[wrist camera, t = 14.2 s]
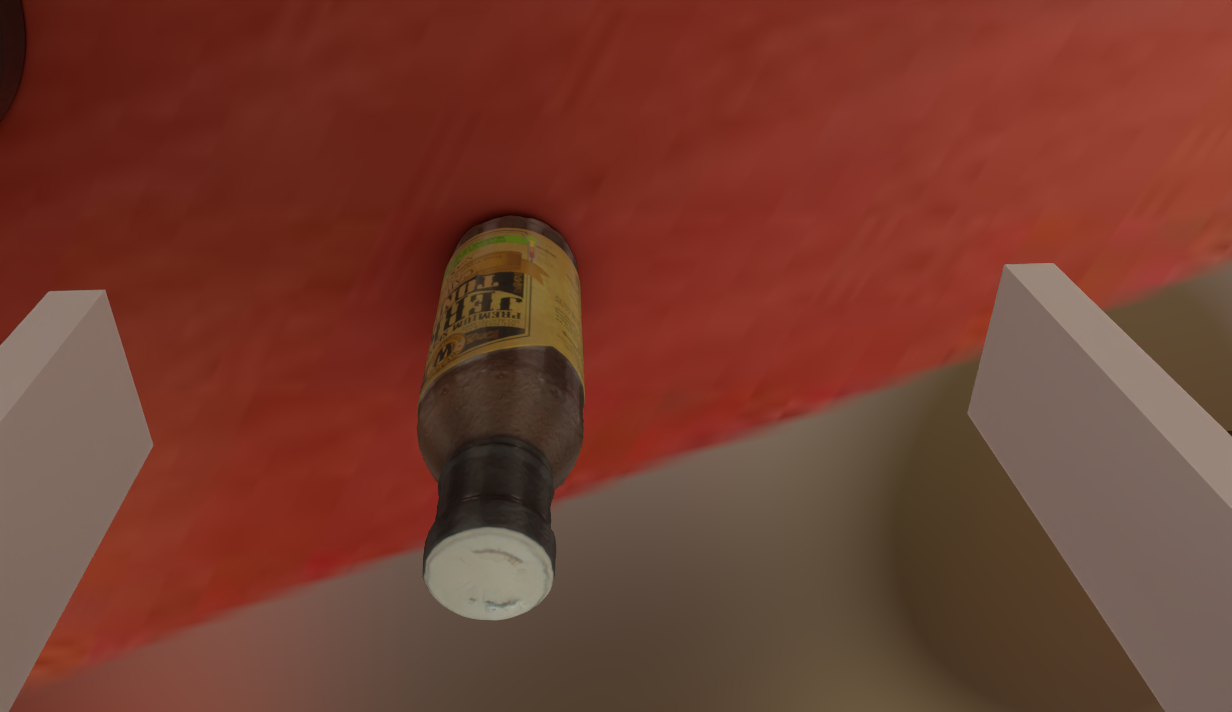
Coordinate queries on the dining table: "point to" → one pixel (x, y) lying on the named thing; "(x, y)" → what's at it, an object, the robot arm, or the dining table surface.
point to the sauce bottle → (501, 415)
